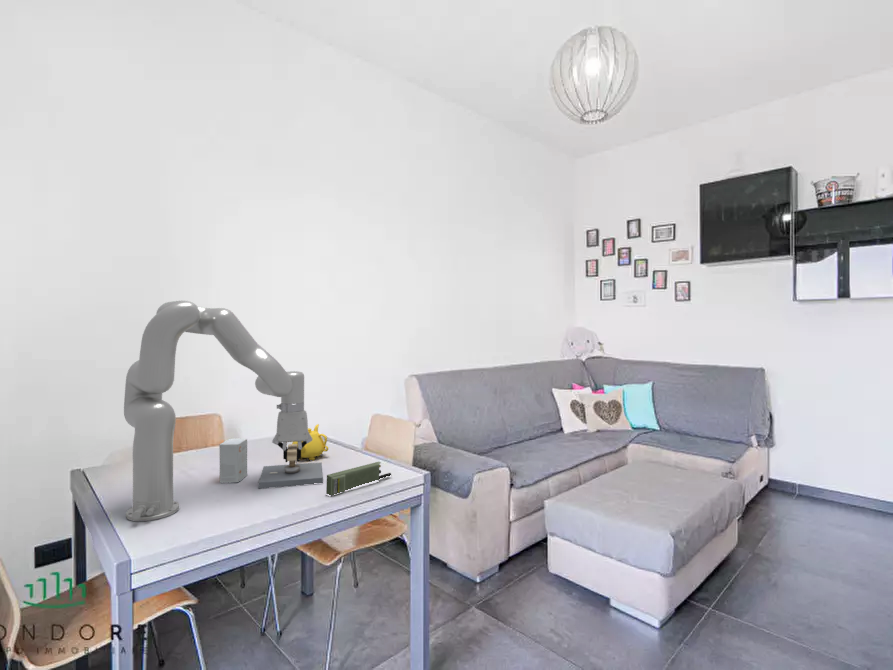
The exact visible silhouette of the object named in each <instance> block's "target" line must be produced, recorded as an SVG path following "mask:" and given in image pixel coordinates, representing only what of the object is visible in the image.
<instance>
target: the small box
mask: <svg viewBox="0 0 893 670" xmlns="http://www.w3.org/2000/svg"><path fill="white" fill-rule="evenodd" d="M245 476H246V477H247V476H248V438H228V439H227V440H224V441H223V442H222V443H220V444H219V484H232V483H231V482H239V481H240V482H241V481H243V479H244V477H245ZM246 477H245V478H246ZM222 482H223V483H222ZM228 482H229V483H228ZM240 482H239V483H240Z"/></svg>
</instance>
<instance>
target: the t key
mask: <svg viewBox="0 0 893 670" xmlns="http://www.w3.org/2000/svg"><path fill="white" fill-rule="evenodd" d="M287 449H288V450H287V461H289V462H288V463H289V464H286V465H287V466H285V473H296V472H299V471H300V465H296V464H297V463H296V461H297V444H287Z"/></svg>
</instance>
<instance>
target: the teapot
mask: <svg viewBox="0 0 893 670" xmlns="http://www.w3.org/2000/svg"><path fill="white" fill-rule="evenodd" d="M319 426H320V424H319V423H317V424H316V425H315V426H314V427H313V428H314V429H313V430H312V428H311V427H310V428H309V427H308V432H309V434H310V435H311V437H312V441H311V442H309V443H307V444H306V445H305V446H304V447H303V448H302V449H301V458H299V461H300V460H302V459H303V458H305V459H307V458H308V460H309V461H310V460H312V461H315V460H316V458H315V457H316V456H318V457H321V455H322V454H323V453H324V452H328V451H329V447H328V445H327V443H328V437H327V435H326V434H324V433H319ZM323 438H324V439H323ZM302 442H303V441H302ZM291 443H292V444H297V448H298V441H297V442H291Z"/></svg>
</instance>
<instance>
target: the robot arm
mask: <svg viewBox="0 0 893 670" xmlns="http://www.w3.org/2000/svg"><path fill="white" fill-rule="evenodd" d="M143 330H144V331H143V334H142V337H141V341H140V348H139V349H140V351H139V356H138V357H139V359H138V360H137V361H135V362H133V363H132V364H131V366H129V368H128V371H127V373H126V377H125V385H124V386H125V387H124V402H123V417H124V419H125V421H126V422H127V424H128V425H129V426H131V427H132V428H134V436H133V441H132V442H133V443H132V507H130V508H129V509H128V510H126V512H125V518H126V519H128V520H129V521H132V522H133V521H134V522H147V521H148V522H149V521H155V520H159V519H160V520H161V519H163V518H166V517H169V516H171V515H173V514H175V513H176V512H178V511H179V509H180V503H179V502H178V501H175V500H174V438H175V437H174V436H175V428H176V422H177V421H176V420H177V418H176V411H175V409H174V408H173V406H172V405H171V404H170V403H169V402H167V401H165V400H164V399H163V394H164V393H166V392H168V391H169V390H170V389H171V388H172V386H173V385H174V381H175V372H176V371H175V369H176V367H175V365H176V355H177V353H176V352H177V347H178V346H177V345H178V342H179V340H180V338H181V336H182V335H184V334H183V333H190V334H197V335H206V336H208V335H209V336H213V337H214V338H216V340H217V341H218V342H219V344H220V345H221V346H222V347H223V348H224V349H225V351H226V352H227V353H228V354H229V355H230V357H231V358H232V360H233V361H235V362H236V363H238V364H240V365H241V366H243V367H245V368H247V369H248V370H250V371H252V373H253V372H254V373H255V374H256V375H257V377H256V379H255V383H254V385H255V388H256V390H257V391H258V392H259V393H261V394H263V395H267V396H271V397H277V398H280V402H281V403H280V404H276V410H277V409H279V410H280V411H279V412H278V415H277V421H276V434H275V435H274V437H273V439H272V440H271V443H272V444H274V445H276V446H278V447H279V448H280V449H282V451H283V455H282V456H283V457H282V458H283V460H284V461H285V463H287V462H288V461H287V450H288V443H293V442H297V441H298V448H297V460H296V462H300V460H299V458H301V449H302V448H303V447H304V446H305V445H306V444H307V443H309V442H311V441H312V437H311V435H310V434H309V432H308V428H309V423H308V413H307V410H306V409H305V375H304V373H303V372H302V371H298V370H297V371H295V370H293V371H292V370H291V371H286V369H285V368H284V366H283V365H282V364H281V363H280V362H279V361H278V360H277V359H276V358H275V357H274V356H273V355H271V353H270V352H268V351H267V350H266V349H265V348H263V346H261V345H260V344H258V342H257V341H256V340H255V338H254V337H253V336H252V335H251V333H250V332H249V331H248V330H247V328H246V327H245V326H244V324H243V323H242V322H241V321H240V319H238V317H237V316H236V314H234V312H232V310H230V309H228V308H224V307H223V308H222V307H221V308H220V307H217V308H215V307H214V308H212V307H211V308H209V307H203V306H197V304H196V303H194V302H191V301H188V300H175V301H168V302H167V301H166V302H165V303H163V304H160V306H159V307H158V308H157V310H156V313H155V315H154V316H153V317H152V318H151V319H150V320H149V321H148V323H147V324H146V326H145V328H144V329H143ZM302 441H303V442H302ZM301 459H302V458H301ZM288 463H289V462H288Z"/></svg>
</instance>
